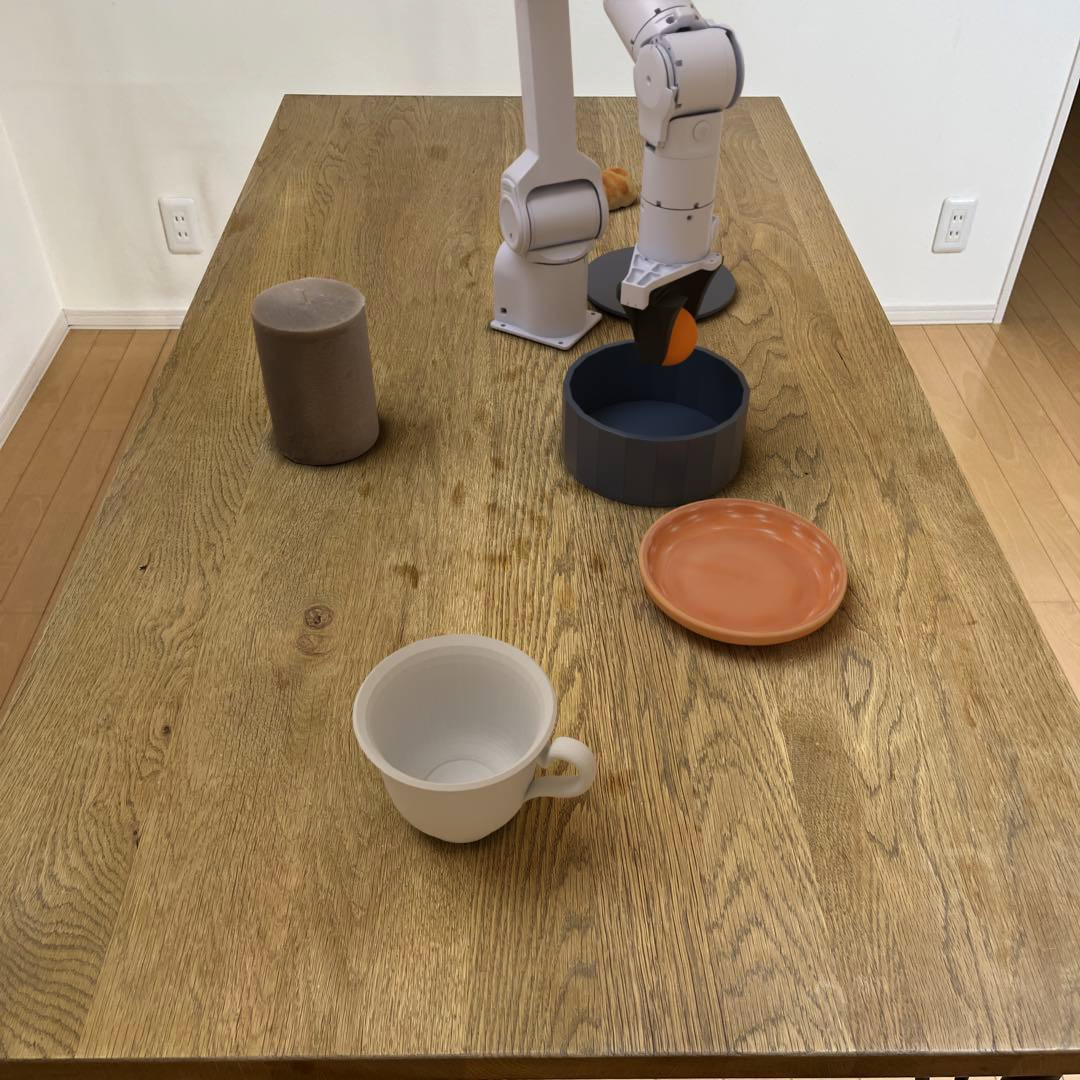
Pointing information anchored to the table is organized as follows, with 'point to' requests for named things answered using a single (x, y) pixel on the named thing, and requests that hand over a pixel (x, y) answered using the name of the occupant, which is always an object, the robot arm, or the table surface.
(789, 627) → the saucer
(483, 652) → the teacup
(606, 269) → the lid
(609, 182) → the pastry
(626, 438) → the pot
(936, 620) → the table surface
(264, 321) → the pillar candle
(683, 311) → the orange
